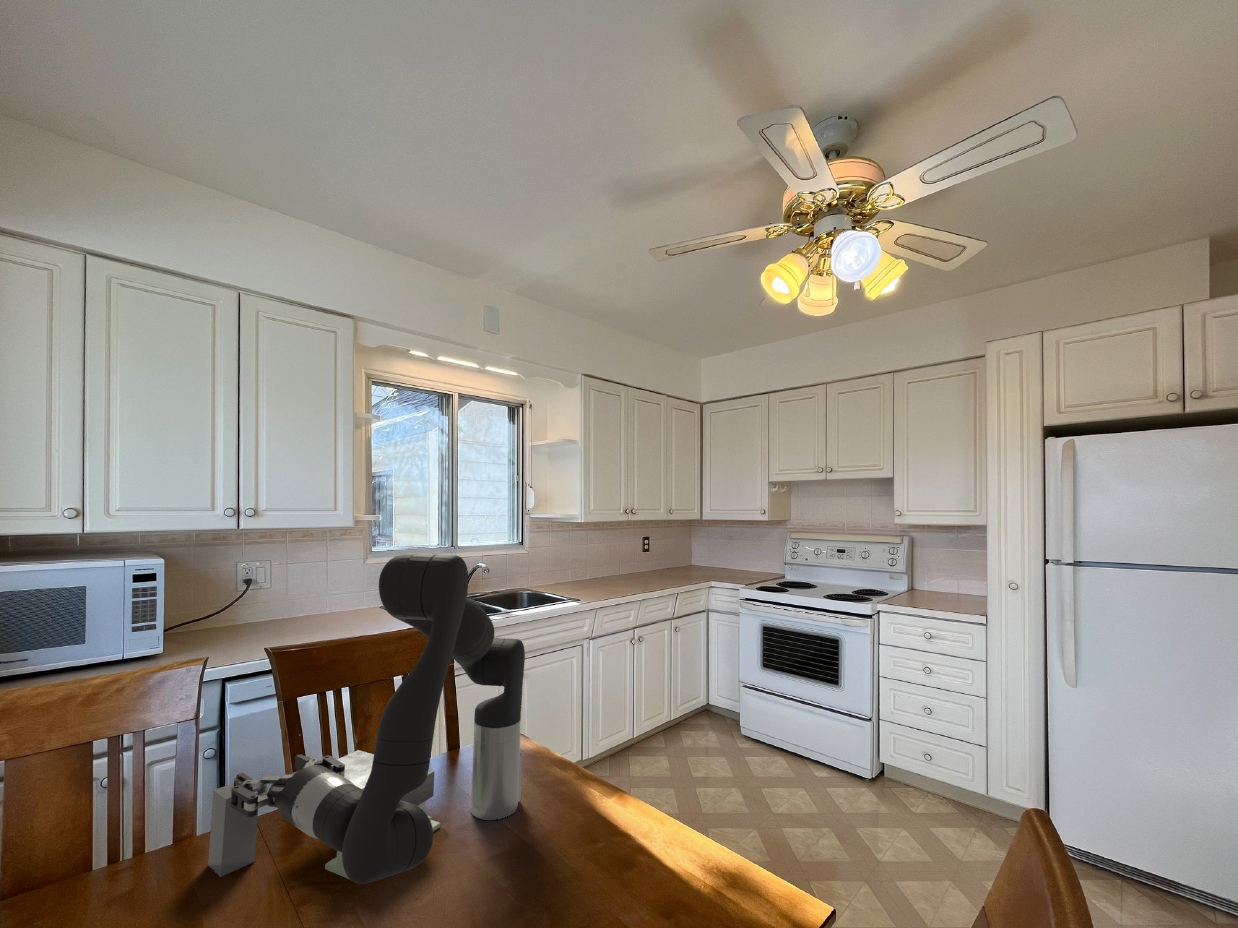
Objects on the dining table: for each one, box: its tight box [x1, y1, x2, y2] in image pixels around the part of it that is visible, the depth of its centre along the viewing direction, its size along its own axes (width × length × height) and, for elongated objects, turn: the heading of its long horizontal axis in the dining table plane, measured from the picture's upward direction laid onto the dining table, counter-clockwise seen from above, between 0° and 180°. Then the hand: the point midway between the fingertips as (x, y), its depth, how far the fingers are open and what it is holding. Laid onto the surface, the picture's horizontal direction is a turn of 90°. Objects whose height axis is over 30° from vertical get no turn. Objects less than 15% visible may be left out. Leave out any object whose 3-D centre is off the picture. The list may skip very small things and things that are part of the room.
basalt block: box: [207, 782, 259, 878], centre depth 95 cm, size 5×5×12 cm
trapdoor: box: [336, 749, 435, 806], centre depth 103 cm, size 12×20×4 cm, turn 65°
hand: (268, 770), depth 89 cm, fingers open, 8 cm apart
